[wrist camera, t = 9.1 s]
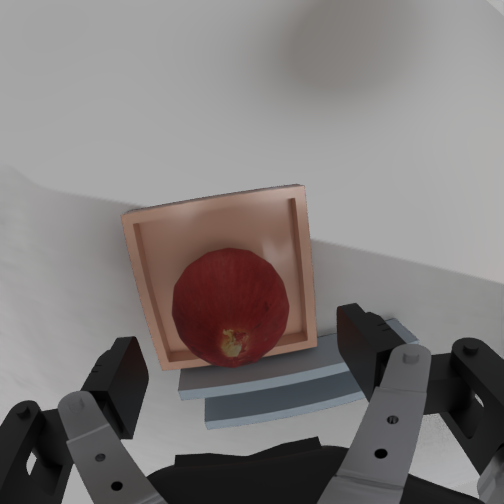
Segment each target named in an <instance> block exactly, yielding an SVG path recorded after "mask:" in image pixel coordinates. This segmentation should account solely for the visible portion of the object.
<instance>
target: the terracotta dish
mask: <svg viewBox="0 0 504 504" xmlns="http://www.w3.org/2000/svg"><path fill="white" fill-rule="evenodd" d="M121 219H122V224H123V229H124V234H125V238H126V243H127V248H128V252H129V256H130V261H131V265H132V269H133V273H134V277H135V281H136V285H137V289H138V292H139V296H140V300H141V303H142V307H143V310H144V314H145V317H146V321H147V324H148V327H149V331H150V334H151V337H152V340H153V344H154V347H155V350H156V353H157V356H158V359H159V362H160V365H161V368H162V371H164V370H174V369H183V368H192V367H200V366H208V365H211V364H209V363H207V362H206V361H204V360H202V359H200V358H199V357H197V356H195V355H194V354H193V353H192V352H191V351H190V350H189V349H188V348H187V346H186V345H185V344H184V343H183V342H182V341H181V339H180V337H179V335H178V332H177V329H176V326H175V323H174V320H173V317H172V301H173V291H174V285H175V284H176V282H177V281H178V279H179V278H180V276H181V275H182V273H183V272H184V270H185V268H186V267H187V266H188V265H190V264H191V263H192V262H194V261H195V260H197V259H198V258H200V257H201V256H203V255H204V254H206V253H207V252H211V251H215V250H219V249H224V248H228V247H229V248H237V249H244V250H250V251H252V252H253V253H255V254H256V255H258V256H260V257H261V258H263V259H264V260H266V261H268V262H269V263H271V264H272V266H273V267H274V269H275V270H276V271H277V273H278V274H279V276H280V277H281V279H282V280H283V282H284V286H285V289H286V293H287V297H288V301H289V305H290V308H289V315H288V320H287V325H286V330H285V332H284V333H283V335H282V336H281V338H280V339H279V341H278V342H277V344H276V345H275V347H274V348H273V349H272V350H270V351H269V352H268V353H266V354H265V355H264V356H263V357H266V356H271V355H277V354H282V353H287V352H292V351H297V350H302V349H307V348H312V347H316V346H317V331H316V313H315V297H314V282H313V269H312V257H311V245H310V234H309V224H308V213H307V204H306V195H305V186H304V185H299V184H292V185H284V186H277V187H270V188H262V189H255V190H248V191H241V192H234V193H228V194H221V195H215V196H209V197H202V198H196V199H191V200H185V201H179V202H173V203H168V204H162V205H157V206H152V207H147V208H141V209H136V210H131V211H128V212H126V213H124V214H122V215H121Z"/></svg>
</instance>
